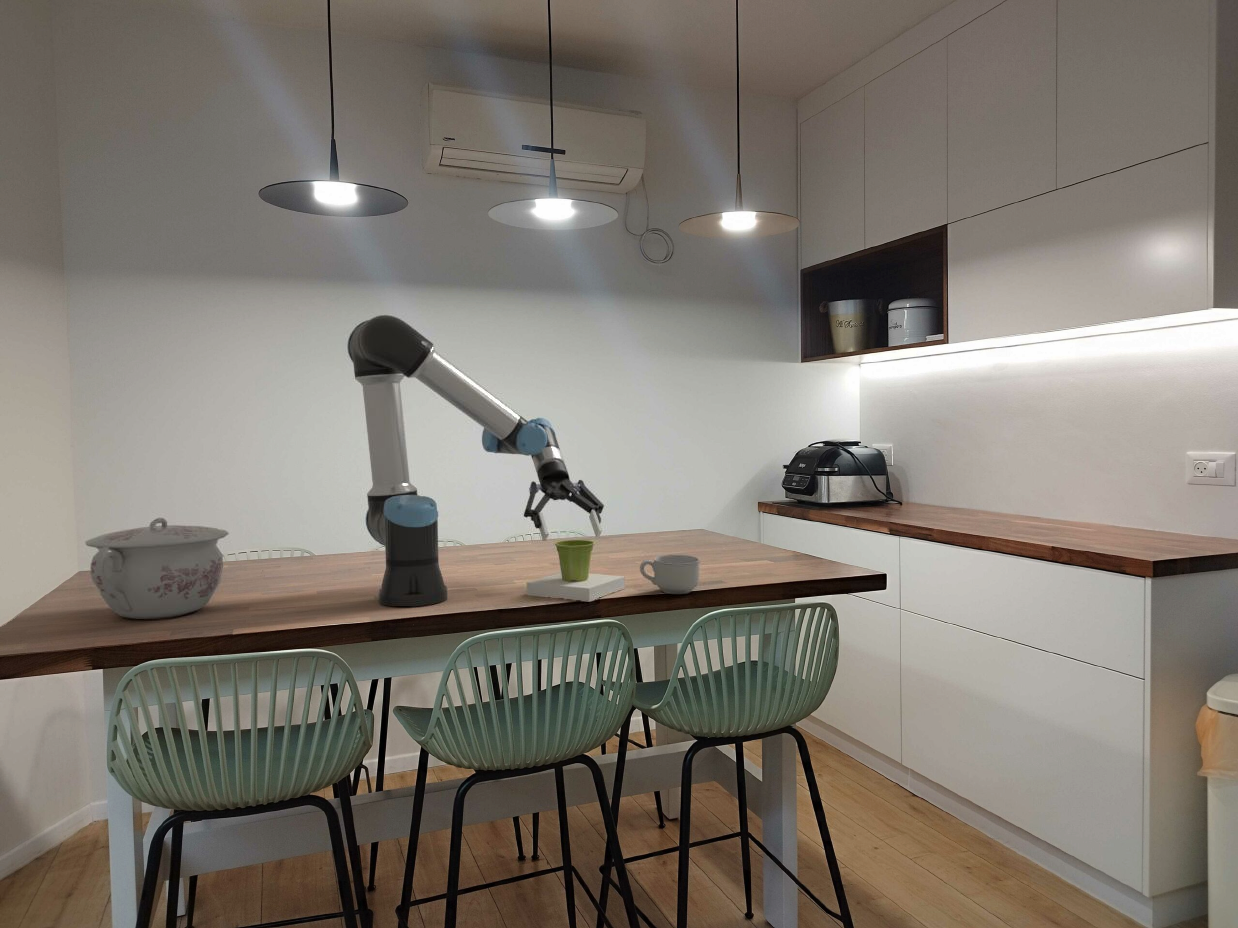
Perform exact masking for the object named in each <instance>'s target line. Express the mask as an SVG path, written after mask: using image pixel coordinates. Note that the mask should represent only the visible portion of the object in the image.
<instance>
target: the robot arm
mask: <svg viewBox="0 0 1238 928" xmlns="http://www.w3.org/2000/svg"><path fill="white" fill-rule="evenodd" d="M347 340H348V341H347V344H346V345H347V354H348V357H349V358H350V360H351V362H352V363H353V372H354V380H356V381H357V382H358V383H359V384H361V386H362V393H363V394H362V395H363V403H364V412H365V423H366V432H367V443H368V451H369V461H370V463H369V464H370V469H371V471H370V472H371V479H372V480H371V481H372V486H371V488H370V489H369V490H368V492H367V493H366V497H367V506H368V508H367V511H366V514H365V526H366V529H367V531H368V533H369V534H370V536H371V537H372V538H373V540H374V541H375V542H377V543H379V545H381V546H383V547H385V549H384V551H385V570H384V574H383V576H382V577H383V578H382V582H381V587H380V589H379V591H378V603H379V604H380V605H382V606H386V605H387V607H394V606H412V607H421V606H422V607H423V606H430V605H435V604H438V603H442V602H444V601H446V600H447V599H448V588H447V585H446V584H445V580H444V577H443V574H442V572H441V567H440V565H439V527H438V526H439V524H438V521H439V520H438V518H439V511H438V506H437V502H436V501H435V499H433V498H432V497H429V496H425V495H419V494H418V489H417V487H415V486H414V485H413V484H412V483H411V480H410V474H409V473H410V472H409V460H408V453H407V442H406V433H405V431H406V430H405V422H404V412H403V403H402V394H401V393H402V392H401V390H402V389H401V382H402V380H403V379H404V378H405V377H406V378H407V379H411V378H416V379H417V380H418V381H419V382H421V383H422V384H423V385H425V386H426V387H427V388H429V389H431V390H432V391H433V392H434V393H436V394H437V395H439V396H440V398H442V399H444V400H445V401H447V403H449V404H450V405H452V406H454V407H455V408H456V409H458V410H459V411H461V412H462V413H463V414H465V415H466V416H468V417H469V418H470V419H471V420H473V421H474V422H475V423H477V424H478V425H480V426H481V427H483V430H482V433H481V444H482V448H483V450H484V451H485V452H487V453H494V454H507V455H524V456H527V457H528V456H530V457H531V460H532V462H533V466H534V468H535V472H536V473H537V474H536V475H537V479H538V482H539V483H536V481H534V480H533V481H532V482H530V486H529V488H528V489H529V490H528V491H529V497H528V500H527V504H526V506H525V509H524V512H523V517H524V518H530V521H532V522H533V524H534V527H535V529H538V530H539V532H540V535H541V540H542V542H547V539H548V536H549V531H548V527H547V524H546V521H545V517H544V515H543V512H542V510H543V509H544V507H546V505H547V504H548V502H549V501H550V500H553V501H559V500H560V501H566V500H567V501H568V502H570V503H573V504H574V505H576V506H578V507H579V508H580V509H582V510H584V511H585V512H586V513H588V514H589V516H588V517H589V521H590V523H591V527H592V529H593V533H594V535H595V538H596V539H597V538H599V539H600V536H601V534H602V532H603V530H602V526H601V522H602V517H601V515H600V514H602V512H603V510H604V508H605V505H604V504H603V502H601V500H600V499H599V498H597V496H596V495H595V494H594V493H593V492H592V491H590V489H589V488H588V487H587V486H586V485H585V483H584V481H583V480H582V479H579V480H578V481H577V482H572V480H571V479H570V475H569V471H568V469H567V466H566V464H565V460H564V457H563V455H562V452H561V449H560V446H559V443H558V439H557V434H556V432H555V430H554V428H553V426H552V423H551V422H550V421H549V420H548V419H546V418H544V417H537V418H535V419H534V418H532V419H530V420H526V418H524V417H523V416H521V414H519V413H518V412H516V411H515V410H513V409H512V408H511V407H510V406H509V405H507V404H505V403H504V402H503V401H502V400H500V399H499V398H497V397H496V395H494V394H493V393H491V392H490V391H488V390H487V389H486V388H485V387H483V386H482V385H481V384H479V383H478V382H477V381H476V380H474V379H473V378H471V377H470V376H469V375H467V374H466V373H465V372H464V371H462V370H461V369H460V368H458V366H456V365H455V364H453V363H451V362H450V361H449V360H448V359H446V358H445V357H443V356H442V355H441V354H440V353H439V352H437V351H436V350H435V344H434V343H433V342H432V341H430V340H429V339H428V338H426V336H424V335H422V334H421V333H420V332H419V331H417V329H415V328H414V327H412V326H411V325H409V324H408V323H407V322H406V321H405V320H402V319H401V318H399V317H396V316H393V315H390V314H389V315H387V314H382V315H377V316H373V317H372V318H370V319H367V320H365V321H362V322H360V323H359V324H358V325H356V326H355V327H354V328H353V330H352V331H351V333H350V334H349V337H348V339H347ZM539 491H541V492H542V493H543V494H544V495H543V496H542V498H540V501H539V502H538V503H537V505H536V506H535V508H534V509H532V508H533V507H532V506H533V503H534V500H535V497H536V494H537V493H539Z"/></svg>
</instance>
